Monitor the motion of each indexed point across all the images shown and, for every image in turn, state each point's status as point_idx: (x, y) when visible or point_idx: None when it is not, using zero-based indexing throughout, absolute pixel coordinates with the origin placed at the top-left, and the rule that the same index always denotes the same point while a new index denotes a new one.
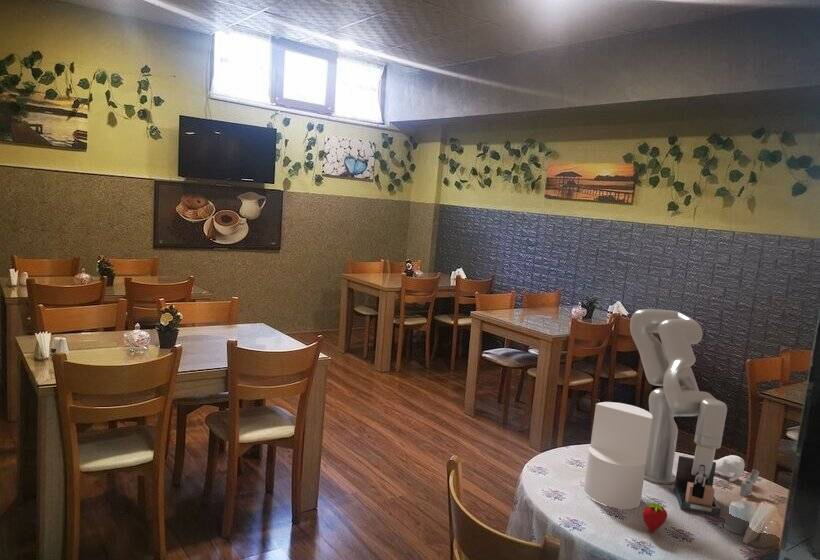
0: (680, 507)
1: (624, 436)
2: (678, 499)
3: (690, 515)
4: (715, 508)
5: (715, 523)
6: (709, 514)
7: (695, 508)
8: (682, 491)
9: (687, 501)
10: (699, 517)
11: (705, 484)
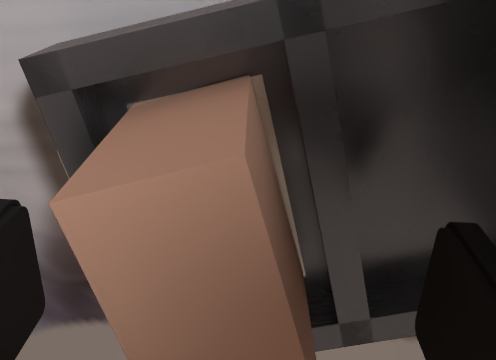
0: (81, 38)
1: None
2: (226, 3)
3: (4, 134)
4: None
5: None
6: None
7: None
8: (485, 30)
9: (139, 110)
10: (32, 202)
11: (422, 350)
